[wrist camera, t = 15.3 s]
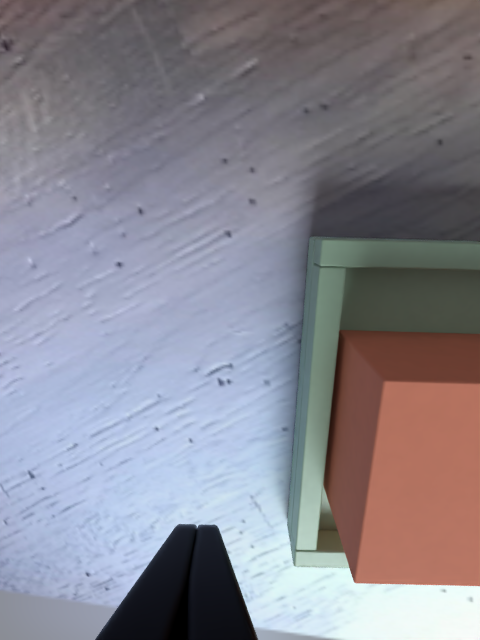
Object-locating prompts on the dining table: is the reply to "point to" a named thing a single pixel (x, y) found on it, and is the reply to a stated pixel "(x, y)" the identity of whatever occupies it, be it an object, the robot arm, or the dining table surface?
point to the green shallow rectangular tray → (364, 315)
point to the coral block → (406, 456)
